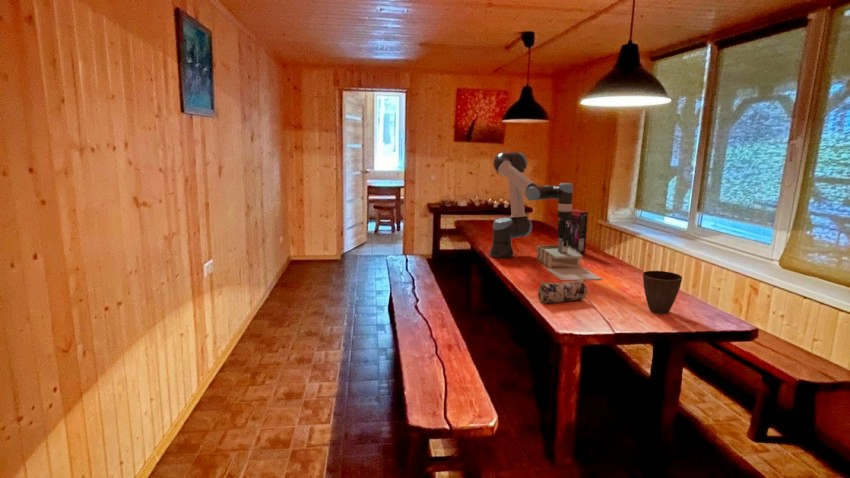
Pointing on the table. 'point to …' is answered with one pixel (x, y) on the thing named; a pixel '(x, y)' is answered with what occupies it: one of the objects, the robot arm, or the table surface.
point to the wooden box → (552, 263)
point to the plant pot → (661, 290)
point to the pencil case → (562, 291)
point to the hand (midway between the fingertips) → (562, 250)
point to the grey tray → (573, 274)
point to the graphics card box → (578, 230)
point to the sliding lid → (563, 255)
